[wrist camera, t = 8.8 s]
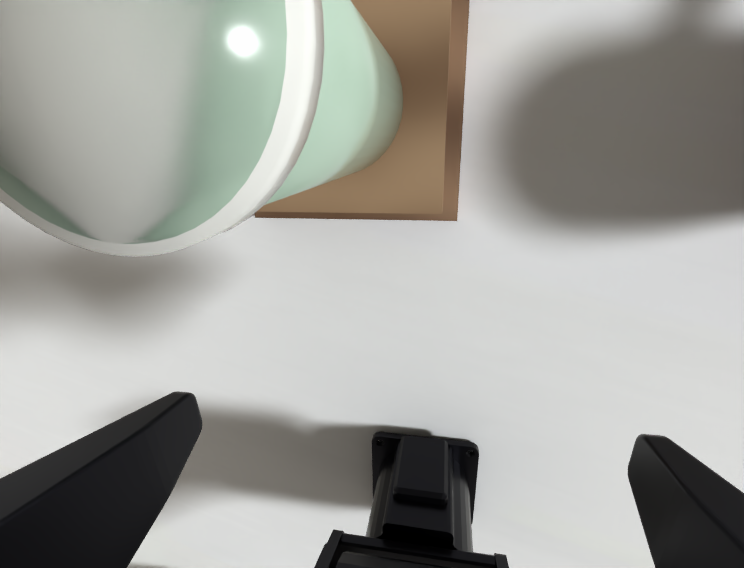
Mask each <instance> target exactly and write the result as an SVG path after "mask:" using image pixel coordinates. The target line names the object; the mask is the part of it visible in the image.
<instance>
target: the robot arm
mask: <svg viewBox="0 0 744 568" xmlns="http://www.w3.org/2000/svg"><path fill="white" fill-rule="evenodd" d="M201 429H202V418H201V415H200V411H199V408H198V404H197V400H196V397H195V396H194V395H193V394H192V393H189V392H173V393H171V394H169V395H167V396H165V397H163V398H161V399H159V400H157V401H155V402H153V403H151V404H149V405H147V406H145V407H143V408H141V409H139V410H137V411H135V412H133V413H131V414H129V415H127V416H125V417H123V418H121V419H119V420H117V421H115V422H113V423H111V424H109V425H107V426H105V427H103V428H101V429H99V430H97V431H95V432H93V433H91V434H89V435H87V436H85V437H83V438H81V439H79V440H77V441H75V442H73V443H71V444H69V445H67V446H65V447H63V448H61V449H59V450H57V451H55V452H53V453H51V454H49V455H47V456H45V457H43V458H41V459H39V460H37V461H35V462H33V463H31V464H29V465H27V466H25V467H23V468H21V469H19V470H17V471H15V472H13V473H11V474H9V475H7V476H5V477H3V478H1V479H0V568H127V566H128V565H129V563H130V561H131V560H132V558H133V556H134V555H135V553H136V551H137V550H138V548H139V546H140V545H141V543H142V542H143V540H144V538H145V537H146V535H147V533H148V532H149V530H150V528H151V527H152V525H153V523H154V522H155V520H156V518H157V517H158V515H159V513H160V512H161V510H162V508H163V506H164V505H165V503H166V501H167V499H168V498H169V496H170V494H171V492H172V490H173V488H174V486H175V484H176V482H177V480H178V478H179V476H180V474H181V472H182V470H183V467H184V465H185V463H186V461H187V459H188V457H189V455H190V453H191V451H192V449H193V447H194V445H195V443H196V441H197V439H198V437H199V435H200V432H201ZM378 440H382V441H383V442H380V441H378ZM468 450H472V451H473V452H468ZM478 459H479V451H478V446H477V445H476V444H474V443H472V442H465V441H456V440H447V439H438V438H429V437H420V436H411V435H403V434H394V433H385V432H377V433H375V434H374V436H373V439H372V468H373V504H372V508H371V513H370V518H369V523H368V528H367V532H366V536H359V535H352V534H346V533H344V531H339V530H333V532H332V534H331V536H330V538H329V540H328V542H327V543H326V544H325V545H324V548H323V550H322V552H321V554H320V556H319V559H318V561H317V563H316V565H315V567H314V568H509V566H508V562H507V557H506V555H503V554H496V553H494V555H488V554H481V553H474V552H473V546H472V529H471V524H472V522H473V511H474V501H475V490H476V480H477V469H478ZM628 478H629V482H630V485H631V489H632V492H633V495H634V499H635V502H636V505H637V509H638V512H639V515H640V519H641V522H642V525H643V529H644V532H645V535H646V539H647V542H648V545H649V549H650V552H651V555H652V558H653V562H654V565H655V568H744V493H743V492H741V491H740V490H739V489H737V488H736V487H735V486H733V485H732V484H730V483H729V482H728V481H726V480H725V479H724V478H722V477H721V476H720V475H718V474H717V473H715V472H714V471H713V470H711V469H710V468H709V467H707V466H706V465H704V464H703V463H702V462H700V461H699V460H698V459H696V458H695V457H693V456H692V455H691V454H689V453H688V452H687V451H685V450H684V449H683V448H681V447H680V446H678V445H677V444H676V443H674V442H673V441H672V440H670V439H669V438H667V437H665V436H660V435H649V434H641V435H639V436H638V437H637V439H636V441H635V444H634V448H633V451H632V455H631V458H630V461H629V465H628Z"/></svg>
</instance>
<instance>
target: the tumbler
mask: <svg viewBox="0 0 744 568" xmlns="http://www.w3.org/2000/svg"><path fill="white" fill-rule="evenodd" d="M402 111H403V91H402V85H401V80H400V76H399V73H398V70H397V68H396V66H395V64H394V62H393V60H392V58H391V56H390V55H389V53H388V52H387V50H386V49H385V48H384V46H383V45H382V43H381V42H380V41H379V39H378V38H377V36H376V35H375V34H374V32H373V31H372V29H371V28H370V27H369V25H368V24H367V22H366V21H365V20H364V18H363V17H362V15H361V14H360V13H359V11H358V10H357V8H356V7H355V6H354V4H353V3H352V1H351V0H0V201H1V202H2V203H3V204H4V205H6V206H7V207H8V208H10V209H11V210H12V211H14V212H15V213H16V214H18V215H19V216H20V217H22V218H23V219H24V220H26V221H28V222H29V223H31V224H33V225H34V226H36V227H38V228H39V229H41V230H42V231H44V232H46V233H48V234H50V235H52V236H54V237H56V238H58V239H61V240H63V241H65V242H67V243H69V244H72V245H75V246H78V247H81V248H84V249H87V250H90V251H94V252H99V253H104V254H109V255H114V256H130V257H142V256H154V255H162V254H166V253H170V252H174V251H178V250H182V249H184V248H187V247H189V246H192V245H194V244H196V243H199V242H201V241H204V240H206V239H209V238H211V237H213V236H216V235H218V234H220V233H223V232H225V231H228V230H230V229H232V228H234V227H235V226H237V225H238V224H240V223H242V222H243V221H245V220H247V219H248V218H250V217H251V216H252V215H253V214H254V213H256V212H257V211H258V210H259V209H260V208H261V207H263V206H264V205H266V204H269V203H271V202H274V201H277V200H280V199H283V198H285V197H288V196H291V195H294V194H297V193H300V192H302V191H305V190H308V189H311V188H314V187H316V186H319V185H322V184H325V183H328V182H330V181H333V180H336V179H339V178H342V177H344V176H347V175H350V174H353V173H356V172H358V171H361V170H363V169H365V168H367V167H368V166H370V165H372V164H373V163H374V162H376V161H377V160H378V159H379V158H380V157H381V156H382V155H383V154H384V153H385V152H386V150H387V149H388V148H389V146H390V145H391V143H392V142H393V140H394V138H395V136H396V133H397V131H398V129H399V125H400V122H401V118H402Z"/></svg>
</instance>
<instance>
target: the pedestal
mask: <svg viewBox="0 0 744 568" xmlns="http://www.w3.org/2000/svg"><path fill="white" fill-rule="evenodd" d="M351 1H352V3H353V4H354V6H355V7H356V8H357V10H358V11H359V13H360V14H361V15H362V17H363V18H364V20H365V21H366V22H367V24H368V25H369V27H370V28H371V29H372V31H373V32H374V34H375V35H376V36H377V38H378V39H379V41H380V42H381V43H382V45H383V46H384V48H385V49H386V50H387V52H388V53H389V55H390V56H391V58H392V60H393V62H394V64H395V66H396V68H397V70H398V73H399V76H400V80H401V85H402V91H403V111H402V118H401V122H400V125H399V129H398V131H397V133H396V136H395V138H394V140H393V142H392V143H391V145H390V146H389V148H388V149H387V150H386V152H385V153H384V154H383V155H382V156H381V157H380V158H379V159H378V160H377V161H376V162H374V163H373V164H372V165H370V166H368V167H367V168H365V169H363V170H361V171H358V172H356V173H353V174H350V175H347V176H344V177H342V178H339V179H336V180H333V181H330V182H328V183H325V184H322V185H319V186H316V187H314V188H311V189H308V190H305V191H302V192H300V193H297V194H294V195H291V196H288V197H285V198H283V199H280V200H277V201H274V202H271V203H269V204H266V205H264V206H263V207H261V208H260V209H259V210H258V211H257V212H256V213H255V218H314V219H376V220H438V221H457V212H458V195H459V177H460V159H461V141H462V123H463V105H464V88H465V70H466V52H467V34H468V16H469V0H351Z"/></svg>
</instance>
